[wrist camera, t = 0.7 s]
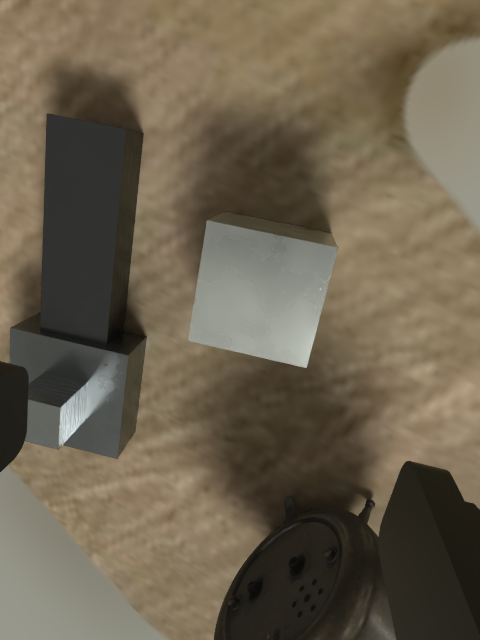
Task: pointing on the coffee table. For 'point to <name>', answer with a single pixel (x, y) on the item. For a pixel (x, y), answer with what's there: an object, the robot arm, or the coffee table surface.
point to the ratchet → (84, 293)
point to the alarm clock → (311, 582)
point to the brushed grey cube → (261, 287)
